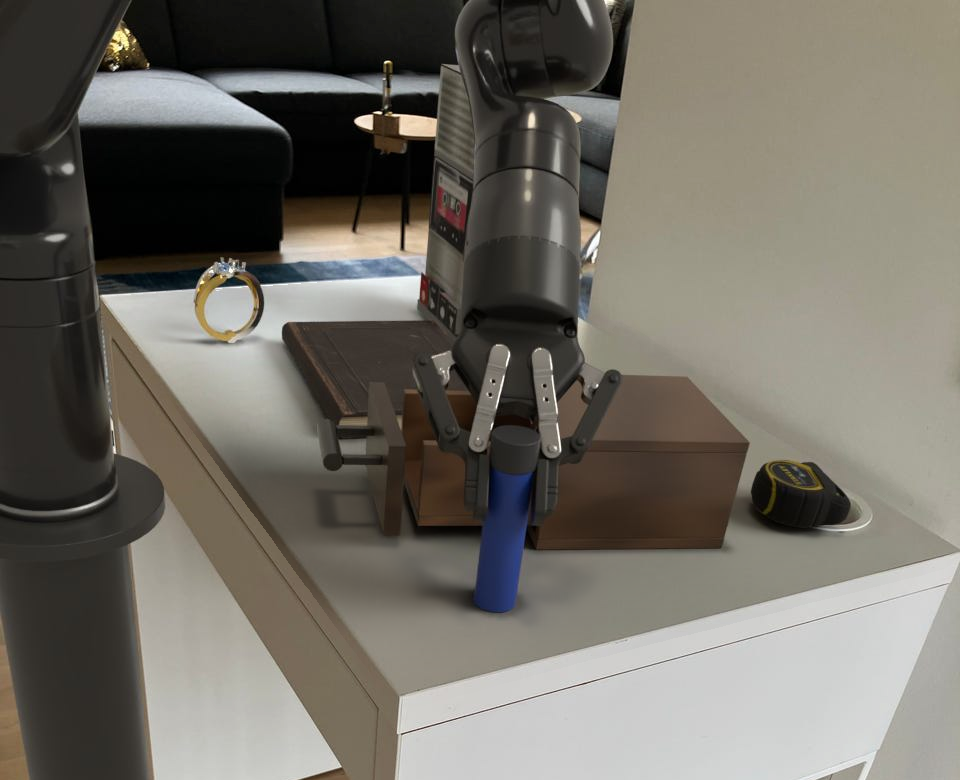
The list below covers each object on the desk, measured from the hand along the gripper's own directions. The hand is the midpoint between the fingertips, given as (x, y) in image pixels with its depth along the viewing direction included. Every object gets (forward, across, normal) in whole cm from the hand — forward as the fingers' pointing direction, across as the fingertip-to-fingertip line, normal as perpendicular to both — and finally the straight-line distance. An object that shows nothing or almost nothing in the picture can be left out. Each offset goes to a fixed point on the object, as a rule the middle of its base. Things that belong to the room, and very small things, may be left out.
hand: (509, 518), depth 65 cm
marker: (+4, 0, +7) cm, 8 cm away
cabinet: (-7, +9, +17) cm, 21 cm away
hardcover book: (-23, -9, +33) cm, 41 cm away
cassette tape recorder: (-35, -2, +45) cm, 57 cm away
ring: (-28, -25, +38) cm, 54 cm away
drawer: (-6, -4, +15) cm, 16 cm away
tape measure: (-8, +25, +19) cm, 32 cm away
